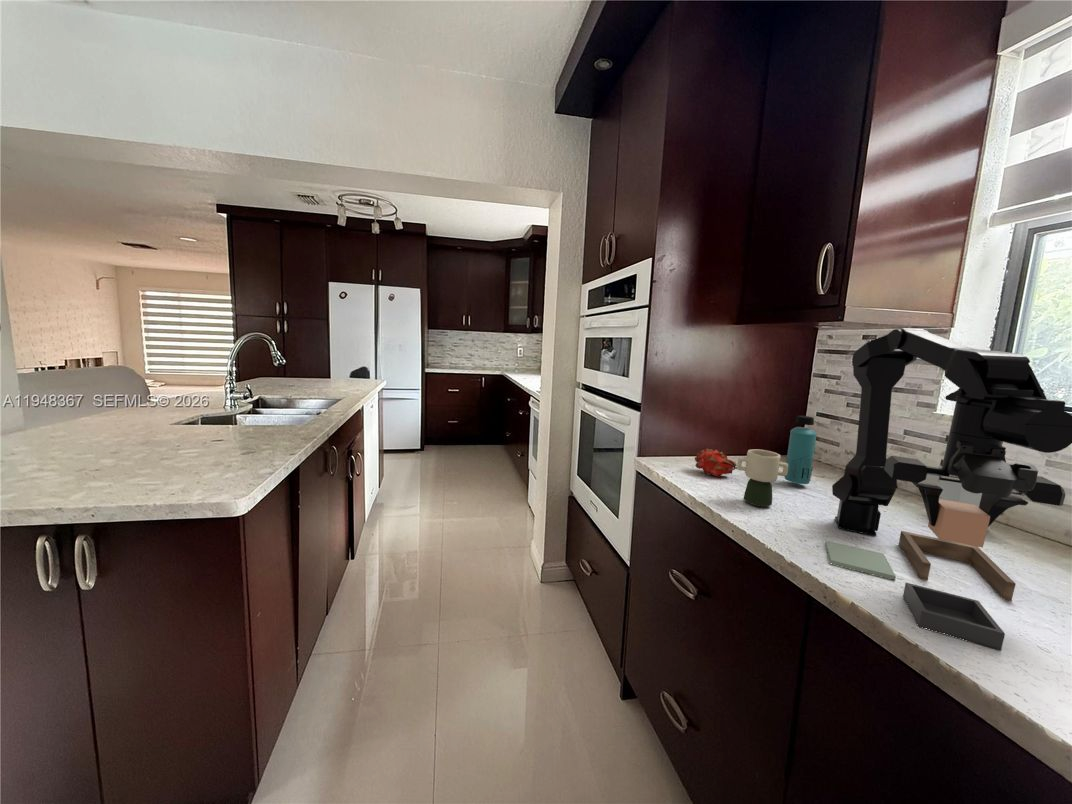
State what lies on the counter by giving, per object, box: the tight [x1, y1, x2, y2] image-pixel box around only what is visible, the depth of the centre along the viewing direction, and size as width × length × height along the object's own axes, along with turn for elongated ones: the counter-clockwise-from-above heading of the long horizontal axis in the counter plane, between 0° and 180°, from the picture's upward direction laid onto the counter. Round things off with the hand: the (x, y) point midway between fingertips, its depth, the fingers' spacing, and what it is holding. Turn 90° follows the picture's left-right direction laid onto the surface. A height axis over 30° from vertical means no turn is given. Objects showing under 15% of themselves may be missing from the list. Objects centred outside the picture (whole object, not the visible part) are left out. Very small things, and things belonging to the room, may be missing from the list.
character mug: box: [736, 448, 788, 508], centre depth 100 cm, size 11×7×13 cm, turn 69°
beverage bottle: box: [783, 415, 818, 485], centre depth 115 cm, size 6×7×20 cm
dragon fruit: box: [694, 448, 738, 479], centre depth 122 cm, size 8×8×12 cm
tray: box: [902, 582, 1006, 652], centre depth 59 cm, size 8×8×2 cm
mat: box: [824, 539, 897, 581], centre depth 75 cm, size 9×9×1 cm
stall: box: [898, 530, 1017, 602], centre depth 74 cm, size 11×14×3 cm
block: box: [927, 499, 990, 548], centre depth 65 cm, size 5×5×5 cm
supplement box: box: [938, 464, 992, 531], centre depth 94 cm, size 7×7×13 cm
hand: (954, 529), depth 65 cm, fingers closed on block, 5 cm apart
